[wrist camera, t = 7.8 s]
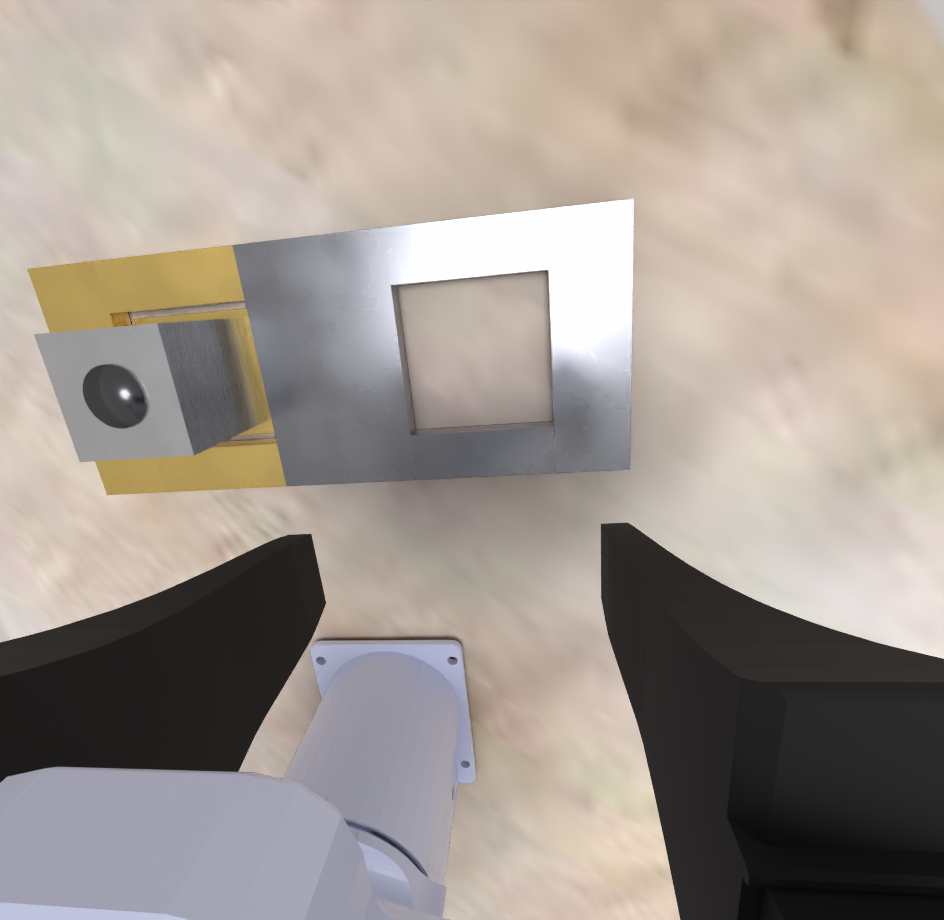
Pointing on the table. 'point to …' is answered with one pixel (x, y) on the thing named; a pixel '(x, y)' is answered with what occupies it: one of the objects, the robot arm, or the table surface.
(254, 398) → the grey cube with hole
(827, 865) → the robot arm
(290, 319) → the rail
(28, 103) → the table surface
